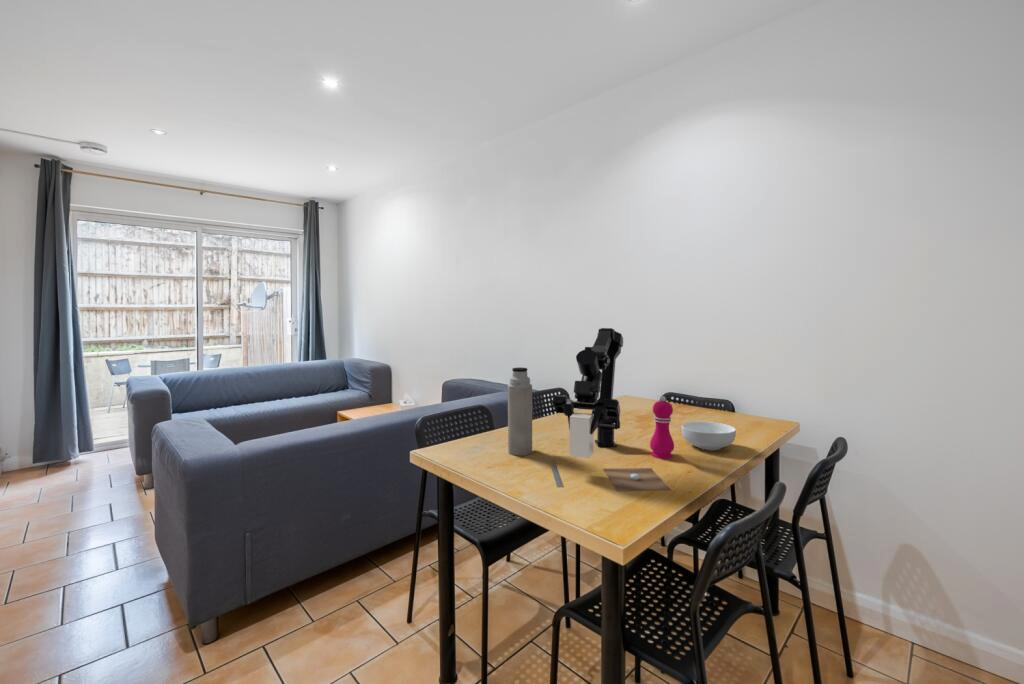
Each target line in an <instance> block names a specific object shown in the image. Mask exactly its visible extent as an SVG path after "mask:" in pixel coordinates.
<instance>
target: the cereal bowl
mask: <svg viewBox="0 0 1024 684" xmlns="http://www.w3.org/2000/svg"><path fill="white" fill-rule="evenodd" d="M680 429H681V435H682V437H683V439H685V441H686V442H688V443H689V444H691V445H693V446H695V447H696V448H697V447H698V449H700V448H701V450H704V449H706V450H705V451H719V450H721V449H722V448H725V447H728V446H730V445H732V444H733V443H734V441H735V439H736V435H737V433H736V432H737V430H736V428H735V427H734V426H732V425H729V424H725V423H720V422H715V421H714V422H713V421H701V420H699V421H698V420H697V421H689V422H688V421H687V422H683V423H682V424H681V428H680Z"/></svg>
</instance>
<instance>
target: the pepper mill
mask: <svg viewBox="0 0 1024 684" xmlns="http://www.w3.org/2000/svg"><path fill="white" fill-rule="evenodd" d="M666 400H667V398H666V396H664V395H662V396H660V397H659V400H658V401H656V402H655V403H654V404H653V406H652V412H653V414H654V417H653V418H654V419H653V421H654V423H655V429H654V433H653V434H652V436H651V438H650V442H649V447H650V449H651V456H652V457H653V458H656V459H659V460H660V459H662V460H669V459H672V458H673V454H672V452H673V451H674V450H675V444H674V440H673V438H672V435H671V431H670V423H671V421H672V420H671V419H672V417H671V415H672V414H673V411H674V407H673V406H672V404H671V402H669V401H666Z"/></svg>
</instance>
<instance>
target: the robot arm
mask: <svg viewBox="0 0 1024 684" xmlns="http://www.w3.org/2000/svg"><path fill="white" fill-rule="evenodd" d="M623 347H624V337H623V334H622V333H621V332H618V331H616V330H615V329H614V328H612V327H609V328H608V327H600V328H598V332H597V337H596V339H595V341H594V343H593V346H585V347H584V349H583V350H581V351H578V353H577V354H576V356H575V358H576V363H577V366H578V370H579V373H580V375H582V376H581V379H580V380H575V381H574V385H573V386H574V387H573V393H575V394H574V399H576V401H575V400H572V399H569V397H568V396H567V395H557V394H555V395H554V396H553V397H552V400H551V403H552V406H553V408H554V412H555V413H557V414H564V415H565V416H566V417H567V421H568V428H569V431H570V416H571V415H572V414H574V413H575V411H574V410H575V409H578V410H587V411H591V414H594V418H593V421H592V425H591V429H590V434H593V432H595V431H596V430H597V432H596V433H597V434H596V435H597V436H596V437H597V438H596V439H594V444H595V445H597V447H598V448H599V447H600V448H602V447H603V448H605V447H608V448H609V447H613V448H614V447H616V448H617V447H618V444H617V443H616V442H615V430H619V429H620V428H621V421H620V416H621V407H620V401H619V400H618V399H614V386H615V385H614V384H615V372H616V361H617V358H618V357H619V356H620V354H621V353H622V352H621V351H622V348H623Z"/></svg>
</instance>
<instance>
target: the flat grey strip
mask: <svg viewBox="0 0 1024 684" xmlns="http://www.w3.org/2000/svg"><path fill="white" fill-rule="evenodd" d="M550 467H551V468H550V469H551V472H552V475H553V478H554V482H555V484H556V487H557V488H564V487H565V485H564V484H563V481H562V478H561V475H560V472H559V468H558V466H557V465H550Z"/></svg>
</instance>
